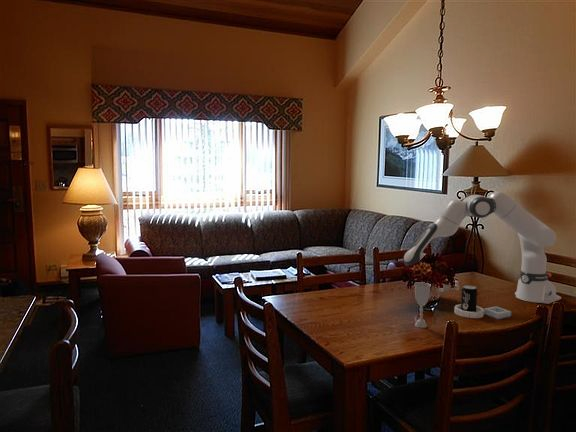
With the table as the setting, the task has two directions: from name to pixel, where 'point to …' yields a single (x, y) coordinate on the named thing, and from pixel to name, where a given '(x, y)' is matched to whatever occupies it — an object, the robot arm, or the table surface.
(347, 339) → the table surface
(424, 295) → the chalice
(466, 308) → the beverage can
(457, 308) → the round collar
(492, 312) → the square holder
